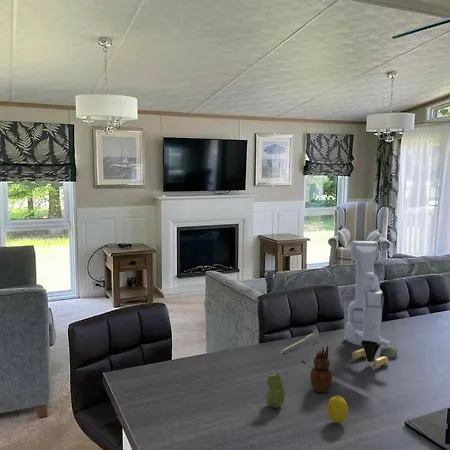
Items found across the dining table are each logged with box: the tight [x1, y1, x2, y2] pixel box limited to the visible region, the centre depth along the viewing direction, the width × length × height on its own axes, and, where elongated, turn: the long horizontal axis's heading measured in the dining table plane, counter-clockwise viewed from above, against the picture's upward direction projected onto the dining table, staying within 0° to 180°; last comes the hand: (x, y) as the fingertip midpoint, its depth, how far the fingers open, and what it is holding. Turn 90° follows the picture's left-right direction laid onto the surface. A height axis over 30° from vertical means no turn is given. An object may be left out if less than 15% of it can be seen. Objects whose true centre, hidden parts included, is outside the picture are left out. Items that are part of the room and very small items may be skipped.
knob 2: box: [372, 355, 389, 368], centre depth 159 cm, size 2×7×3 cm, turn 125°
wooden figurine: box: [310, 345, 333, 394], centre depth 143 cm, size 7×6×15 cm
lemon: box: [327, 395, 349, 424], centre depth 125 cm, size 6×6×8 cm
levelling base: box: [380, 344, 398, 359], centre depth 167 cm, size 14×20×5 cm
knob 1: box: [351, 347, 367, 360], centre depth 166 cm, size 2×7×3 cm, turn 126°
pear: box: [265, 373, 286, 409], centre depth 134 cm, size 6×5×10 cm
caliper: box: [280, 328, 320, 355], centre depth 180 cm, size 21×1×6 cm, turn 124°
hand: (370, 360), depth 160 cm, fingers closed
